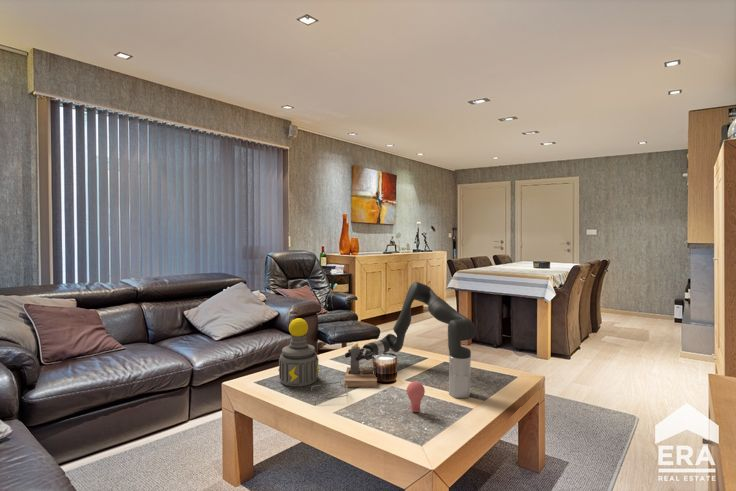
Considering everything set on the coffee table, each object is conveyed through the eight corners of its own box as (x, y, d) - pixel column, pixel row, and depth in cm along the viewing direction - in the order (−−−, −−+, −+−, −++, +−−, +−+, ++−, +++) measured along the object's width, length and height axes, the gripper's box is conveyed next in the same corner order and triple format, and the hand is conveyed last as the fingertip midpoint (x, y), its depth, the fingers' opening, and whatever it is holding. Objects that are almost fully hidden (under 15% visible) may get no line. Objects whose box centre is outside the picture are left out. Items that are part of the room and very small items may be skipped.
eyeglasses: (350, 402, 182) (350, 390, 182) (315, 405, 178) (314, 394, 178) (343, 388, 197) (343, 377, 197) (311, 391, 194) (310, 380, 194)
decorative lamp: (322, 373, 215) (321, 314, 213) (313, 388, 196) (313, 323, 194) (285, 372, 217) (284, 313, 215) (273, 386, 198) (272, 322, 196)
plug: (358, 379, 207) (359, 345, 206) (350, 379, 207) (351, 344, 206) (358, 376, 211) (360, 342, 210) (350, 376, 211) (351, 342, 210)
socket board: (376, 387, 198) (376, 379, 197) (344, 386, 198) (344, 379, 198) (376, 373, 215) (376, 366, 215) (347, 373, 216) (347, 366, 216)
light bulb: (412, 406, 177) (413, 377, 177) (427, 410, 173) (428, 381, 172) (403, 412, 172) (403, 382, 171) (418, 417, 167) (418, 386, 167)
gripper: (362, 339, 223) (340, 346, 211) (384, 344, 214) (362, 352, 201) (362, 353, 224) (340, 361, 211) (384, 359, 214) (362, 368, 202)
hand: (351, 357), depth 206 cm, fingers open, 6 cm apart
